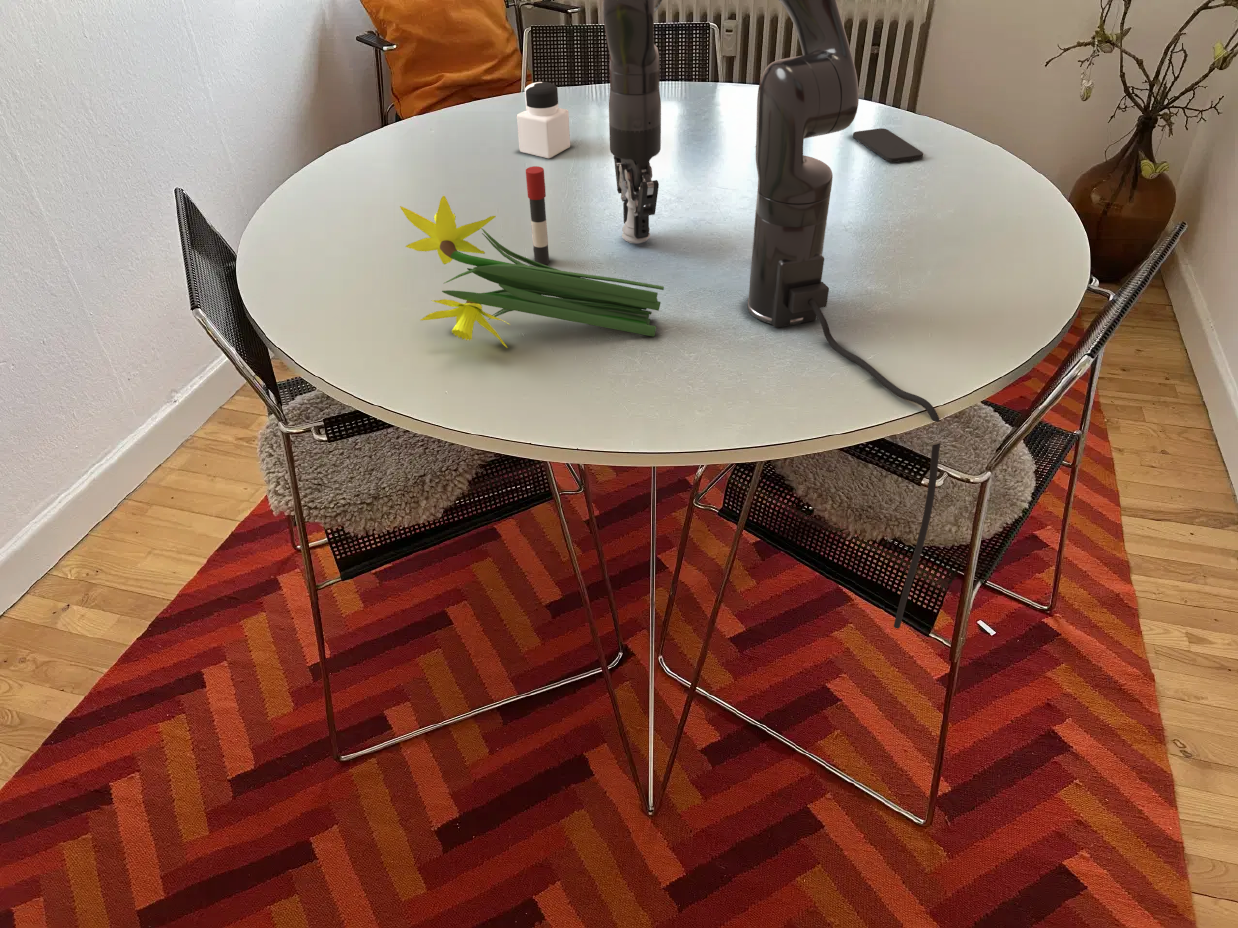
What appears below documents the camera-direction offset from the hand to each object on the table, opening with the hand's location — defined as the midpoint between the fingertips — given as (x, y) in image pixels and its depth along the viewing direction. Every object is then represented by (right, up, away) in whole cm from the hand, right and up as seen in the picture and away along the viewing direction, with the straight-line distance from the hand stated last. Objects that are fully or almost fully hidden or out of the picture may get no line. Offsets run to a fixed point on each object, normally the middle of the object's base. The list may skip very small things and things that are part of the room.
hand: (636, 230), depth 143 cm
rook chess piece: (0, -1, +1) cm, 1 cm away
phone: (+48, +23, +30) cm, 61 cm away
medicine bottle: (-17, +24, +32) cm, 44 cm away
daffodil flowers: (-13, -18, -18) cm, 29 cm away
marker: (-14, -6, -4) cm, 16 cm away
